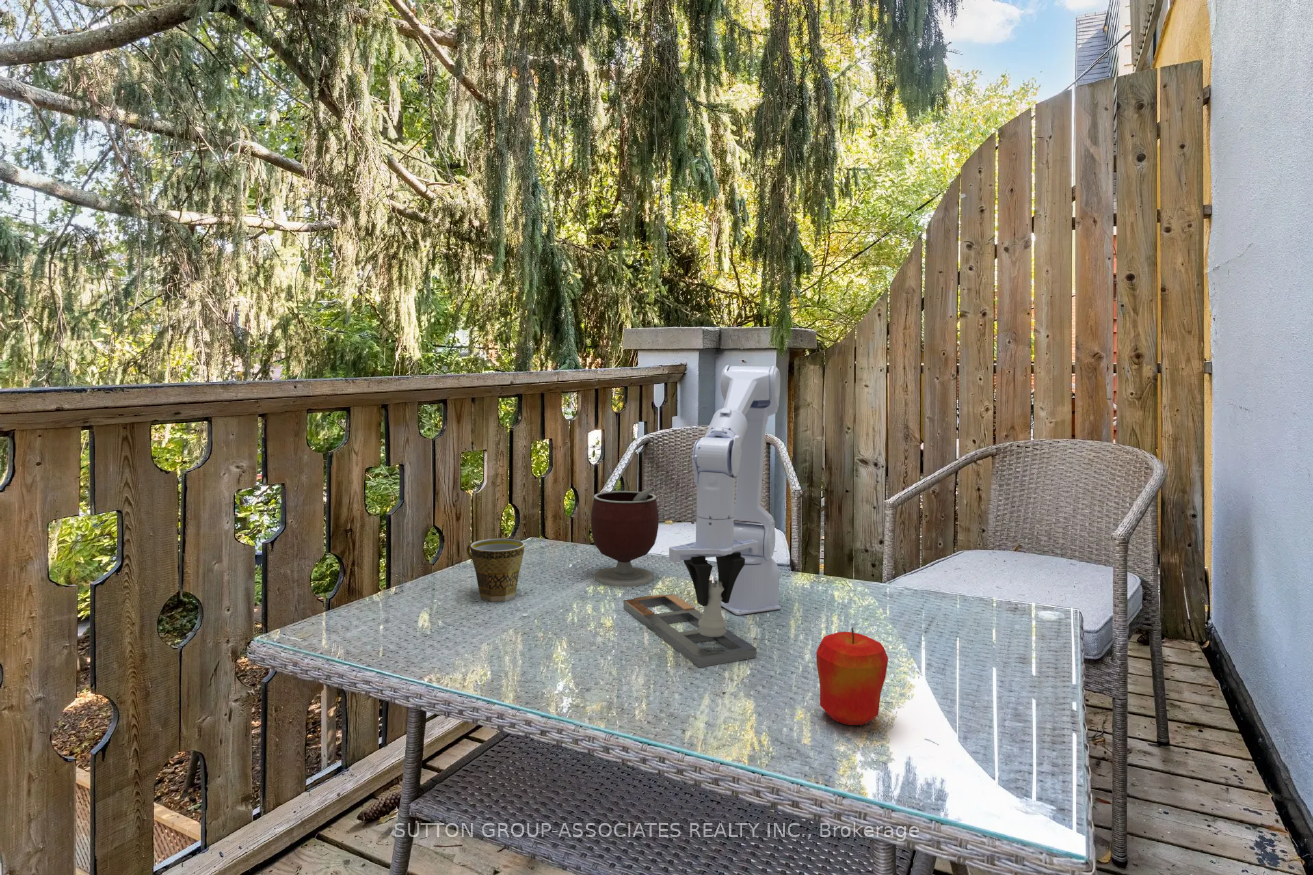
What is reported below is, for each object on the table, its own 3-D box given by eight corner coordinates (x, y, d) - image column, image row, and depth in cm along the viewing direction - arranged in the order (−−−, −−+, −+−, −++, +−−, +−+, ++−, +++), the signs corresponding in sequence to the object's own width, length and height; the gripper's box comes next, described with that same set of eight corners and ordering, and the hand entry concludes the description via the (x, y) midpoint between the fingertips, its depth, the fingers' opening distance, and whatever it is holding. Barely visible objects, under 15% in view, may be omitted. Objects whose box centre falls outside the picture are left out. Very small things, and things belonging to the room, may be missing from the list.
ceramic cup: (535, 594, 143) (535, 543, 142) (498, 608, 135) (498, 553, 134) (486, 583, 150) (486, 534, 149) (447, 595, 142) (447, 543, 141)
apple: (809, 726, 92) (812, 633, 91) (819, 699, 100) (823, 612, 99) (881, 740, 89) (886, 644, 88) (887, 710, 97) (891, 621, 96)
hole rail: (672, 602, 140) (672, 593, 140) (756, 657, 114) (756, 646, 114) (623, 608, 136) (623, 599, 136) (699, 667, 110) (699, 656, 110)
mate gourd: (576, 576, 156) (577, 481, 154) (627, 565, 166) (629, 475, 164) (625, 593, 145) (626, 491, 143) (676, 580, 154) (678, 484, 152)
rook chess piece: (718, 640, 113) (720, 587, 113) (691, 633, 115) (694, 582, 115) (730, 632, 117) (733, 581, 116) (705, 626, 119) (707, 576, 119)
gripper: (684, 524, 108) (682, 616, 109) (769, 517, 114) (767, 604, 115) (663, 515, 114) (661, 602, 116) (745, 509, 120) (743, 591, 122)
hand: (713, 602), depth 116 cm, fingers closed on rook chess piece, 3 cm apart
